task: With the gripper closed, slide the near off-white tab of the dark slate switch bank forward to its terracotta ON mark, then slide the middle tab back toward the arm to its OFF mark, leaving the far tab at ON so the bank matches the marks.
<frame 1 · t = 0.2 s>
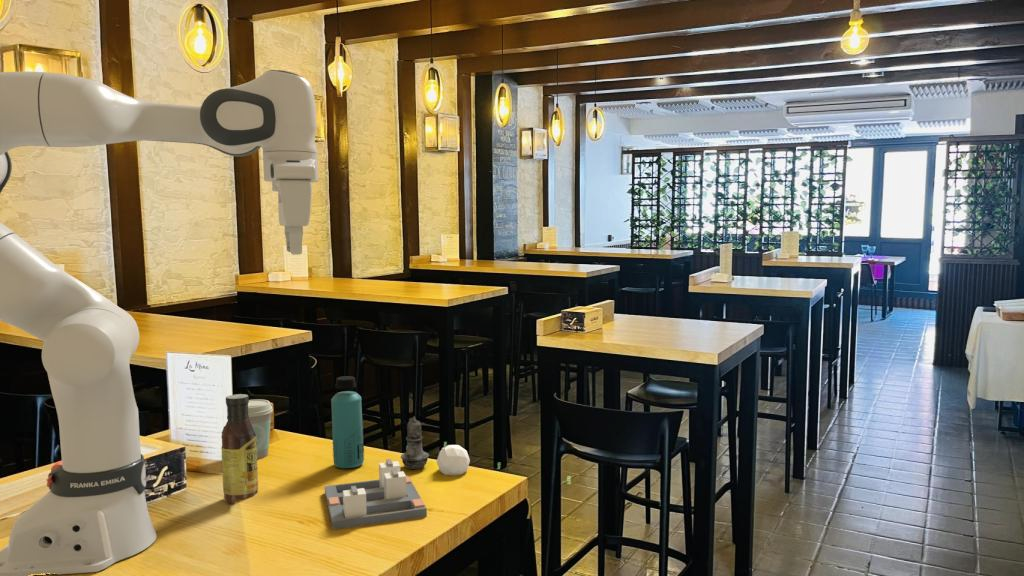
hand: (294, 253, 122), 47 cm above the table, tool pointing down, fingers open, 8 cm apart
switch bank: (373, 510, 131), on the table
tab c: (389, 475, 138), point 4 cm above the table, slide at 8.0 cm
ornament: (453, 477, 148), on the table
sauce bottle: (241, 499, 137), on the table
tab a: (354, 504, 124), point 4 cm above the table, slide at 0.0 cm
coffee cup: (254, 456, 162), on the table
beverage bottle: (348, 471, 152), on the table
grey tower figurine: (415, 473, 151), on the table
tab b: (395, 486, 132), point 4 cm above the table, slide at 8.0 cm
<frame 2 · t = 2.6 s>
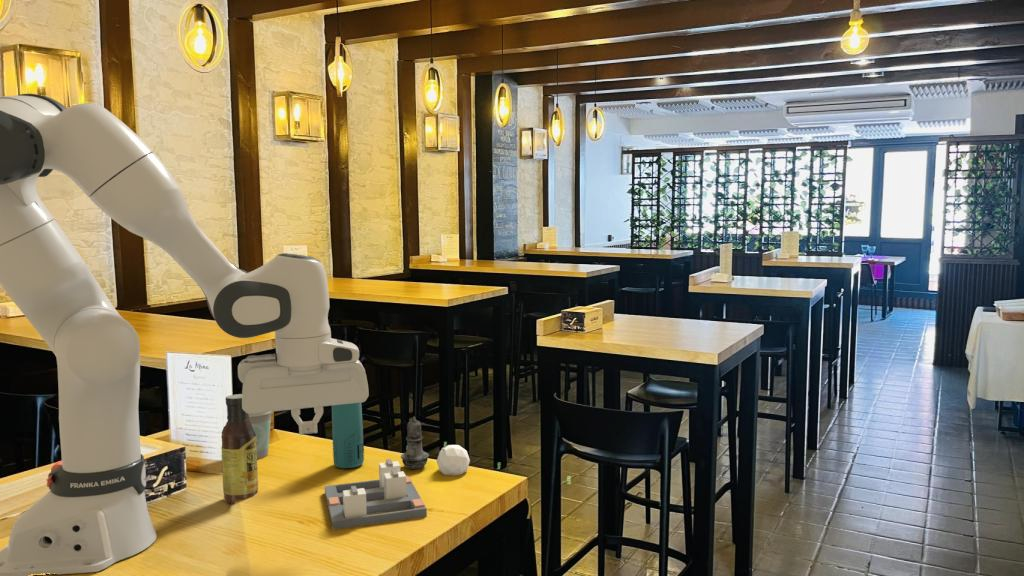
hand: (308, 433, 120), 17 cm above the table, tool pointing down, fingers closed
nothing on the table moved.
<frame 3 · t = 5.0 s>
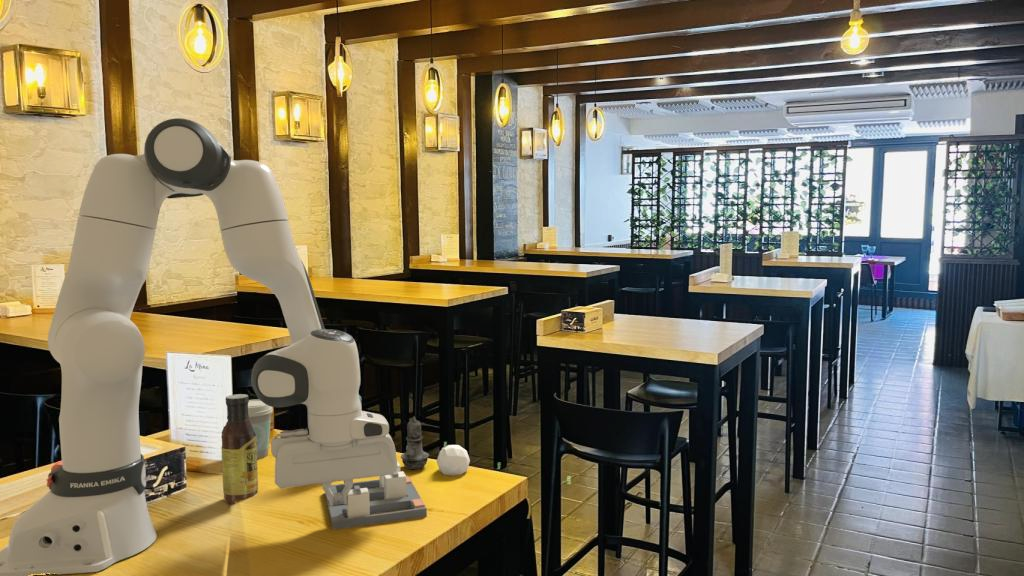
hand: (338, 504, 123), 4 cm above the table, tool pointing down, fingers closed
tab a: (357, 504, 124), point 4 cm above the table, slide at 0.6 cm, touching gripper
everything else where it was.
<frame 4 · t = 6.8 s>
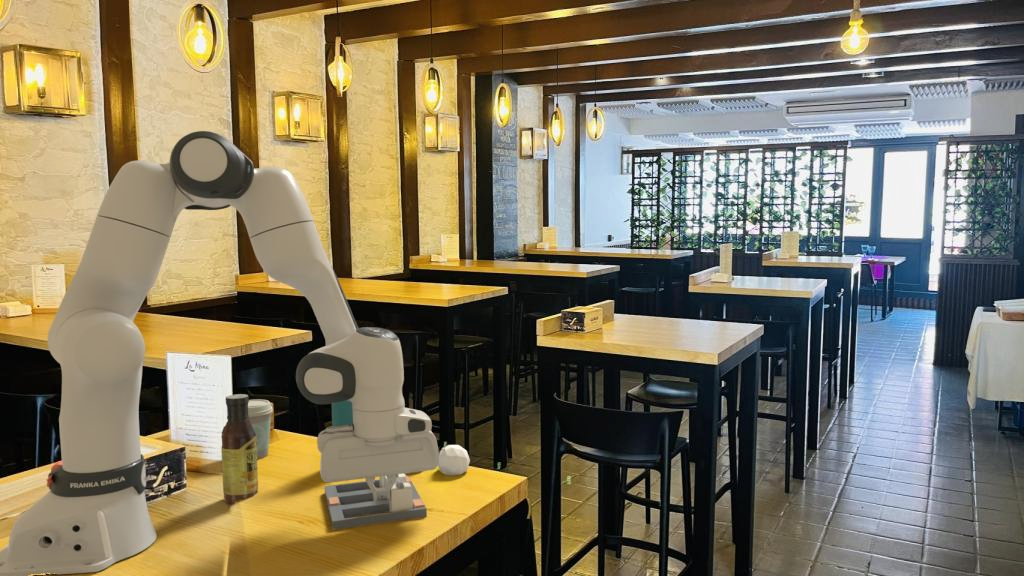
hand: (381, 499, 125), 4 cm above the table, tool pointing down, fingers closed
tab a: (400, 498, 126), point 4 cm above the table, slide at 7.9 cm, touching gripper
everything else where it was.
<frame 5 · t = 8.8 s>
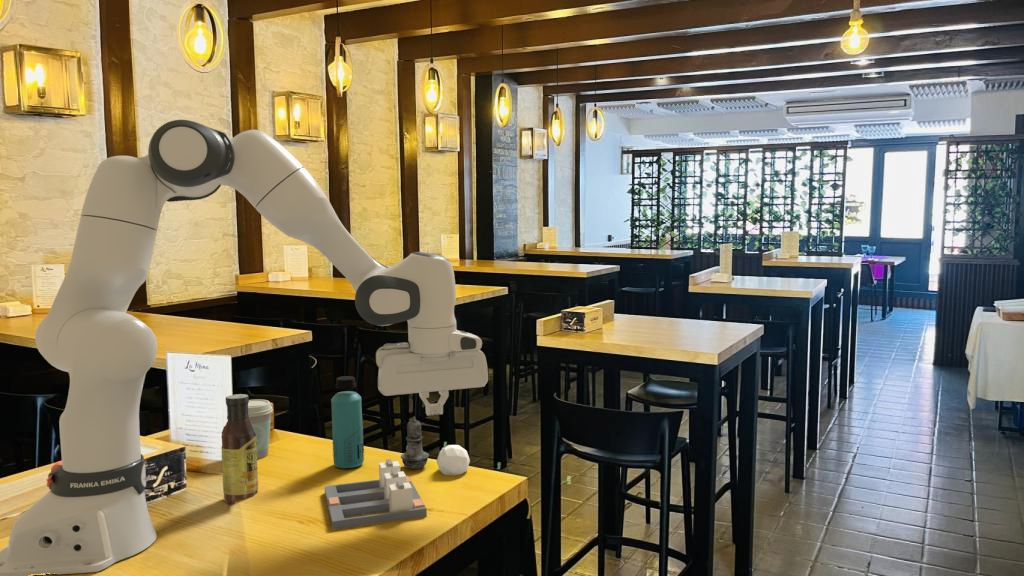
hand: (434, 414, 133), 17 cm above the table, tool pointing down, fingers closed
tab a: (400, 498, 126), point 4 cm above the table, slide at 7.9 cm
everything else where it was.
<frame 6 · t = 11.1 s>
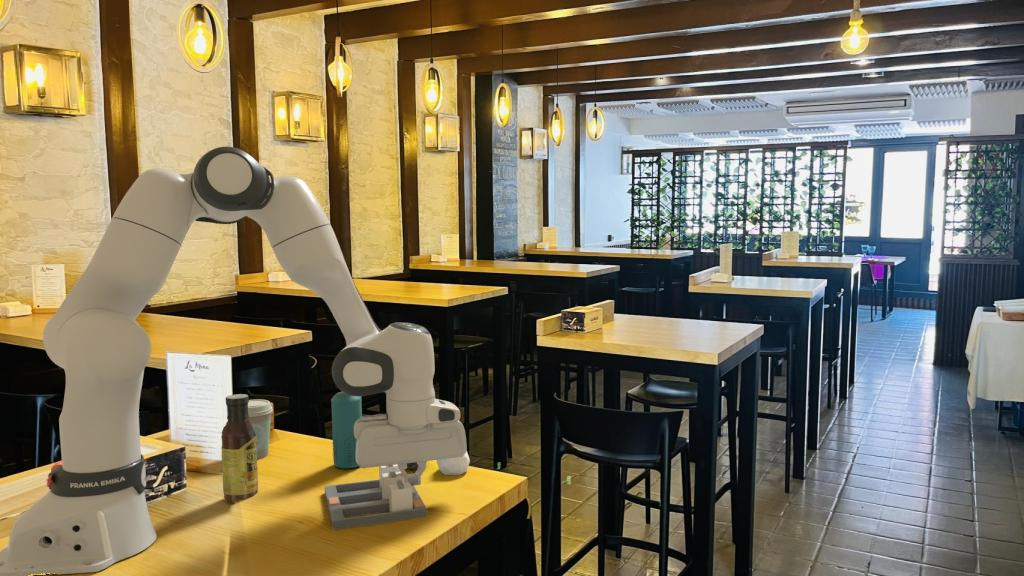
hand: (412, 484, 133), 4 cm above the table, tool pointing down, fingers closed
tab b: (393, 486, 132), point 4 cm above the table, slide at 7.6 cm, touching gripper
everything else where it was.
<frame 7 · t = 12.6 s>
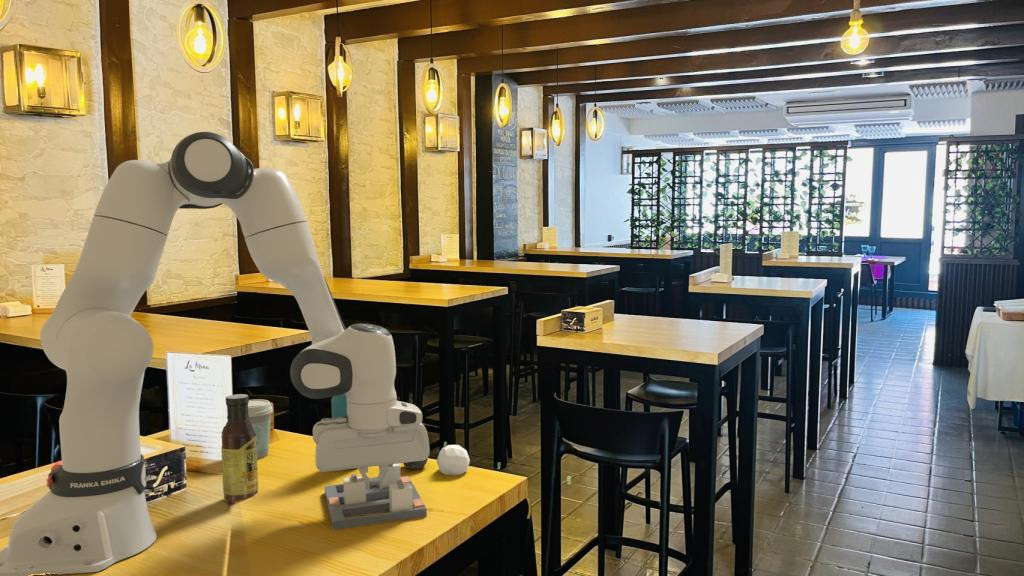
hand: (374, 488, 131), 4 cm above the table, tool pointing down, fingers closed
tab b: (354, 491, 130), point 4 cm above the table, slide at 0.7 cm, touching gripper
everything else where it was.
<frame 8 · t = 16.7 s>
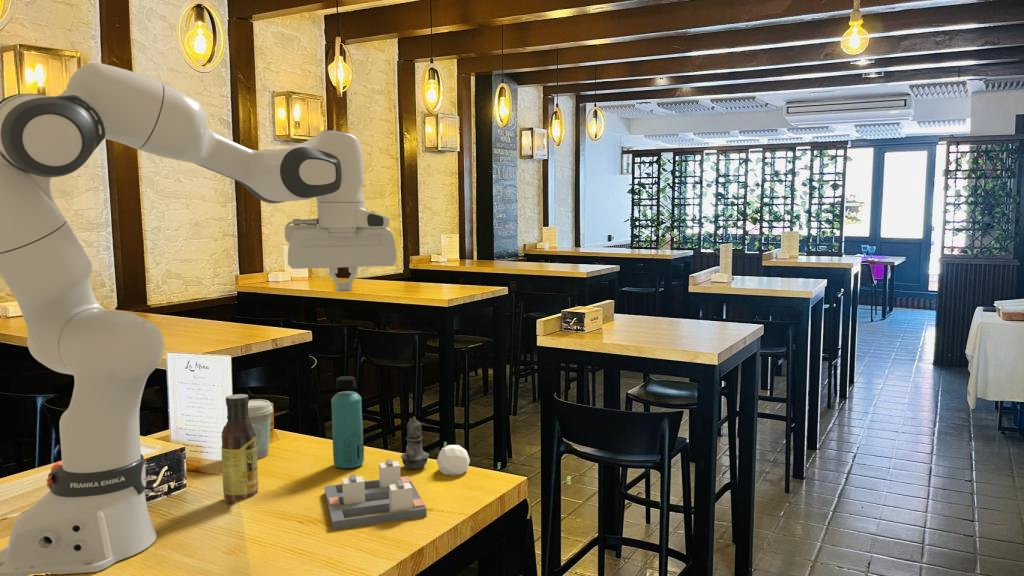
hand: (343, 291, 138), 39 cm above the table, tool pointing down, fingers closed
tab b: (353, 491, 129), point 4 cm above the table, slide at 0.5 cm
everything else where it was.
at the end: tab a slide at 7.9 cm; tab b slide at 0.5 cm; tab c slide at 8.0 cm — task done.
